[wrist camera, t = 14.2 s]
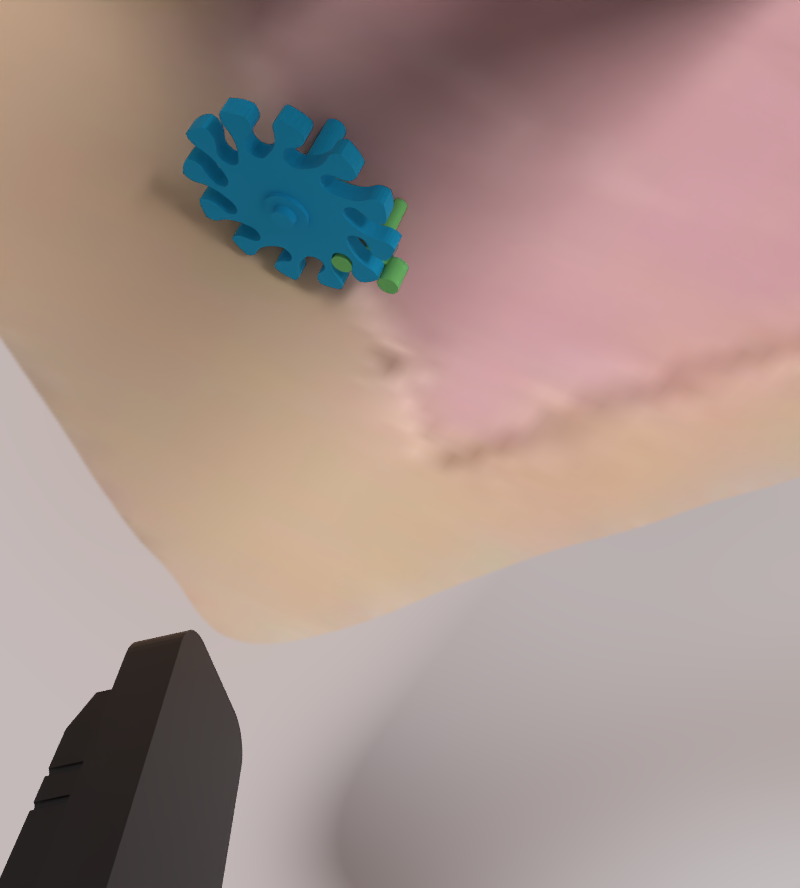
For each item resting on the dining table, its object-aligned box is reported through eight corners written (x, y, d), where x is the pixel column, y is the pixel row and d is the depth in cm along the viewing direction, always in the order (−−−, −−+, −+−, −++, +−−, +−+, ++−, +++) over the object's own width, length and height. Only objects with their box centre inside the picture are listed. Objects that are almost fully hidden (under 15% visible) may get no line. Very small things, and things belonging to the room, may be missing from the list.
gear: (143, 188, 34) (233, 75, 26) (204, 101, 36) (304, -28, 28) (330, 331, 39) (453, 274, 31) (372, 247, 41) (497, 173, 33)
